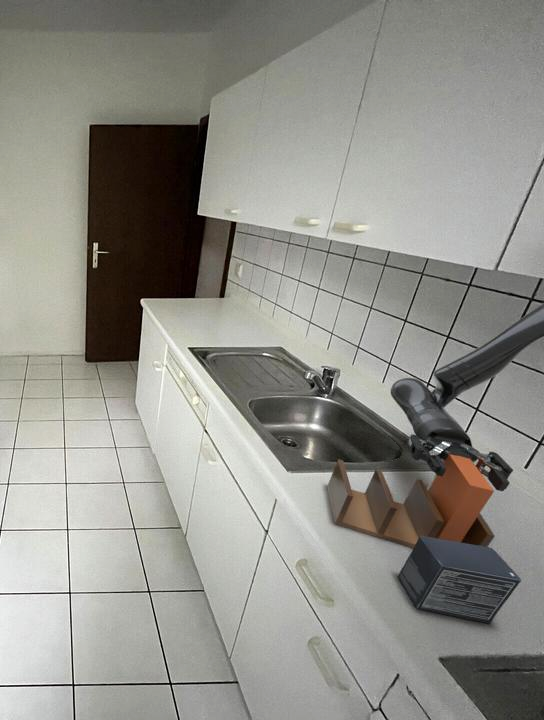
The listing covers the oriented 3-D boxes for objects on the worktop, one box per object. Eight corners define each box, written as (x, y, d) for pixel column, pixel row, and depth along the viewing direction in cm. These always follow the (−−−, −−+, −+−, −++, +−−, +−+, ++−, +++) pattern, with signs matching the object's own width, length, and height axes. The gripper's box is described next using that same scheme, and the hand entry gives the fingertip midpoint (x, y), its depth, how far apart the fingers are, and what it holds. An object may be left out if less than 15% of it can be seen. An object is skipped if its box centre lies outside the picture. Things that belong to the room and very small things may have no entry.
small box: (463, 587, 68) (493, 545, 63) (492, 625, 62) (526, 582, 57) (395, 574, 70) (418, 532, 65) (415, 609, 64) (443, 566, 59)
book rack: (448, 520, 81) (465, 491, 78) (473, 566, 71) (495, 536, 68) (327, 486, 89) (338, 459, 86) (334, 524, 80) (347, 494, 76)
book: (436, 513, 81) (469, 456, 75) (455, 550, 73) (494, 491, 67) (416, 507, 83) (447, 451, 76) (433, 544, 74) (470, 485, 68)
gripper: (405, 409, 85) (431, 452, 72) (490, 426, 79) (536, 476, 66) (392, 437, 88) (415, 483, 75) (473, 455, 83) (513, 508, 69)
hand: (471, 479), depth 70 cm, fingers open, 8 cm apart
